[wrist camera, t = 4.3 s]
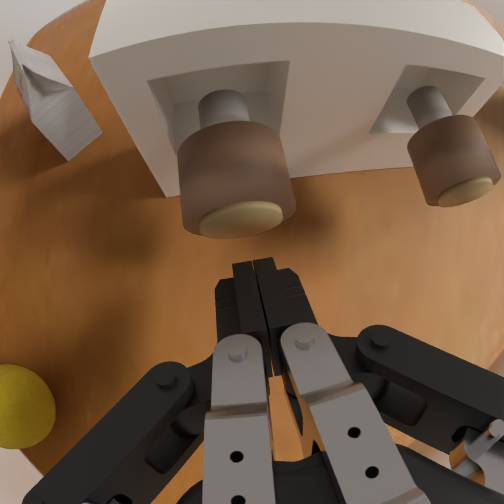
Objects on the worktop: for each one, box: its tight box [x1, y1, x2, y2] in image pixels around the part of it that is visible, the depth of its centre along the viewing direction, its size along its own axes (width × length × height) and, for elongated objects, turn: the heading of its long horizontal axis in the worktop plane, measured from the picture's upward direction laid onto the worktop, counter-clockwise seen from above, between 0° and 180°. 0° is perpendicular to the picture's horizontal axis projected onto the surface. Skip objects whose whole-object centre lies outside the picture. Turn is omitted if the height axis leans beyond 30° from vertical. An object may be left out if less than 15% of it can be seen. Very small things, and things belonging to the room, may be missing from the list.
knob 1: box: [177, 90, 297, 239], centre depth 13 cm, size 4×6×4 cm
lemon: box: [0, 364, 56, 449], centre depth 14 cm, size 6×6×8 cm
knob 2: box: [407, 86, 501, 207], centre depth 13 cm, size 4×6×4 cm
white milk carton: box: [9, 38, 103, 161], centre depth 18 cm, size 4×7×10 cm, turn 41°
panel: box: [88, 0, 504, 198], centre depth 16 cm, size 20×5×13 cm, turn 99°
